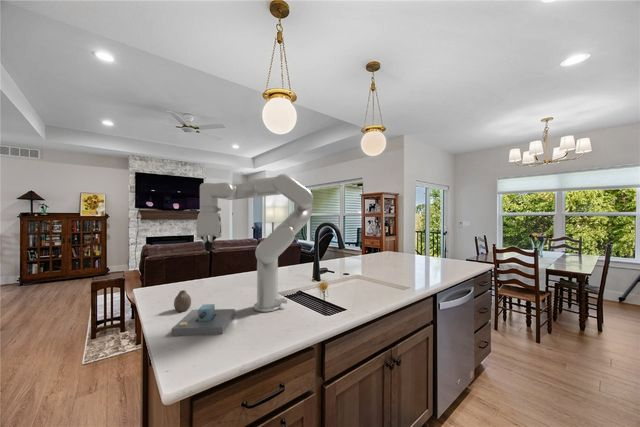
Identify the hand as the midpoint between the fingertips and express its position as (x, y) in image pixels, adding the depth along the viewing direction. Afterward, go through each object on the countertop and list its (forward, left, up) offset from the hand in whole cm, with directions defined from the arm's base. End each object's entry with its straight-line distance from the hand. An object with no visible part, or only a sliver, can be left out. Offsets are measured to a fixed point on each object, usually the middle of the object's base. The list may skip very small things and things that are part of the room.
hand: (208, 250), depth 118 cm
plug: (-4, +16, -27) cm, 32 cm away
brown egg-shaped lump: (+12, -1, -27) cm, 30 cm away
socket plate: (-4, +15, -27) cm, 31 cm away
